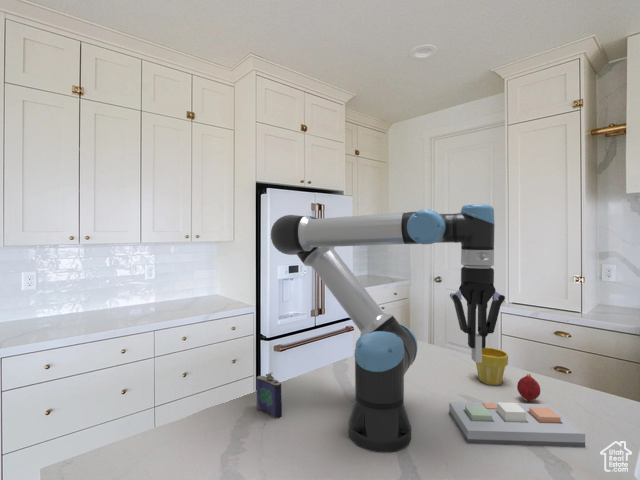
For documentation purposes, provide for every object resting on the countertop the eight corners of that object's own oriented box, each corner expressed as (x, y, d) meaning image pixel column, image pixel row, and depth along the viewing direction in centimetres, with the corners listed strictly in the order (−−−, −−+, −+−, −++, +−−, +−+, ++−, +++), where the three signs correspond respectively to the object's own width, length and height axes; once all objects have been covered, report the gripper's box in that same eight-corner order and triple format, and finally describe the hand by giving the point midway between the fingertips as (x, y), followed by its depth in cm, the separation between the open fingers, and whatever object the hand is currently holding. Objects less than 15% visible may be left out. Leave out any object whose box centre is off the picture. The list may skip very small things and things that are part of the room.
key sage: (472, 427, 85) (472, 415, 85) (465, 417, 90) (465, 405, 90) (492, 428, 85) (492, 415, 85) (484, 417, 90) (484, 406, 90)
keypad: (467, 443, 81) (467, 429, 81) (449, 412, 95) (449, 400, 95) (585, 446, 79) (585, 432, 79) (548, 415, 93) (548, 403, 93)
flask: (254, 408, 98) (254, 370, 98) (262, 405, 100) (262, 367, 100) (277, 419, 92) (277, 379, 92) (285, 415, 94) (285, 375, 94)
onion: (544, 406, 98) (544, 378, 98) (521, 405, 99) (521, 377, 99) (535, 397, 104) (535, 370, 103) (514, 395, 105) (514, 369, 105)
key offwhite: (505, 424, 85) (505, 411, 85) (496, 414, 90) (496, 402, 89) (526, 424, 84) (526, 412, 84) (516, 414, 89) (516, 402, 89)
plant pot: (509, 378, 117) (509, 349, 117) (506, 390, 108) (506, 359, 108) (475, 372, 123) (475, 344, 123) (470, 383, 114) (470, 353, 114)
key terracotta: (539, 429, 84) (539, 416, 84) (529, 418, 89) (529, 407, 89) (560, 429, 84) (560, 417, 84) (548, 419, 89) (548, 407, 89)
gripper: (455, 267, 84) (454, 365, 84) (511, 268, 83) (510, 366, 83) (446, 265, 91) (445, 354, 92) (497, 265, 91) (496, 356, 91)
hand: (476, 360), depth 88 cm, fingers closed
